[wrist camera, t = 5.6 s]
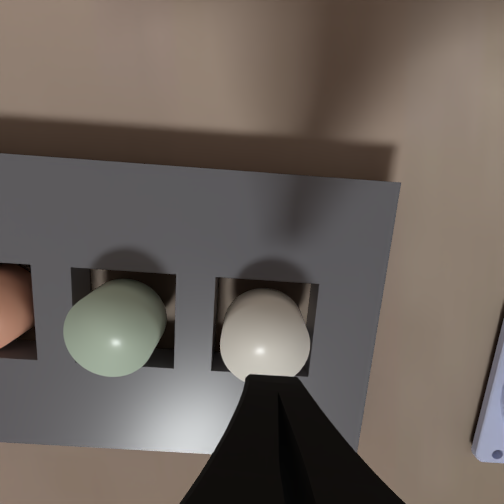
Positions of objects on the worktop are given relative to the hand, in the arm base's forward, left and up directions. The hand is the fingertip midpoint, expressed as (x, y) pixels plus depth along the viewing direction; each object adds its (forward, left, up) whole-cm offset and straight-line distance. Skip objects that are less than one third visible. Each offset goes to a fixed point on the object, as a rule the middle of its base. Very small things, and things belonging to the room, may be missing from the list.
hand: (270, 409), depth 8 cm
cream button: (0, 0, -5) cm, 5 cm away
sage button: (+6, 0, -5) cm, 7 cm away
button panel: (+5, 0, -6) cm, 8 cm away
